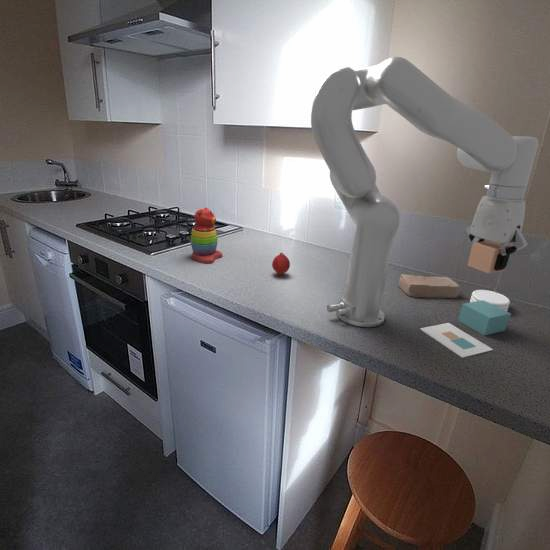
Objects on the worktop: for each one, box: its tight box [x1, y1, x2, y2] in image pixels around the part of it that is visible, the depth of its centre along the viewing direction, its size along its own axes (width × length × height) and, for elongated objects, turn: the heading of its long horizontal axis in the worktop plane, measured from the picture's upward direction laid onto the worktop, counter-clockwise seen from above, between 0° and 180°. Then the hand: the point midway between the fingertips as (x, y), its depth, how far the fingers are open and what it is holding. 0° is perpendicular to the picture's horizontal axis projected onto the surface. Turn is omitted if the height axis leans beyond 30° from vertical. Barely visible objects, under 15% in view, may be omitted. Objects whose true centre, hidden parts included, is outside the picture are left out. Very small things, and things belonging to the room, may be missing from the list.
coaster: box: [469, 289, 511, 312], centre depth 107 cm, size 10×10×4 cm
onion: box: [271, 251, 291, 276], centre depth 118 cm, size 6×6×8 cm
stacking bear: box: [190, 207, 224, 265], centre depth 127 cm, size 11×10×18 cm
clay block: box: [467, 240, 507, 274], centre depth 90 cm, size 6×6×6 cm
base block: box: [457, 300, 512, 336], centre depth 95 cm, size 8×8×5 cm
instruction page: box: [419, 322, 494, 359], centre depth 88 cm, size 10×13×1 cm
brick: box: [398, 273, 460, 299], centre depth 114 cm, size 17×8×5 cm, turn 94°
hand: (487, 264), depth 91 cm, fingers closed on clay block, 6 cm apart
